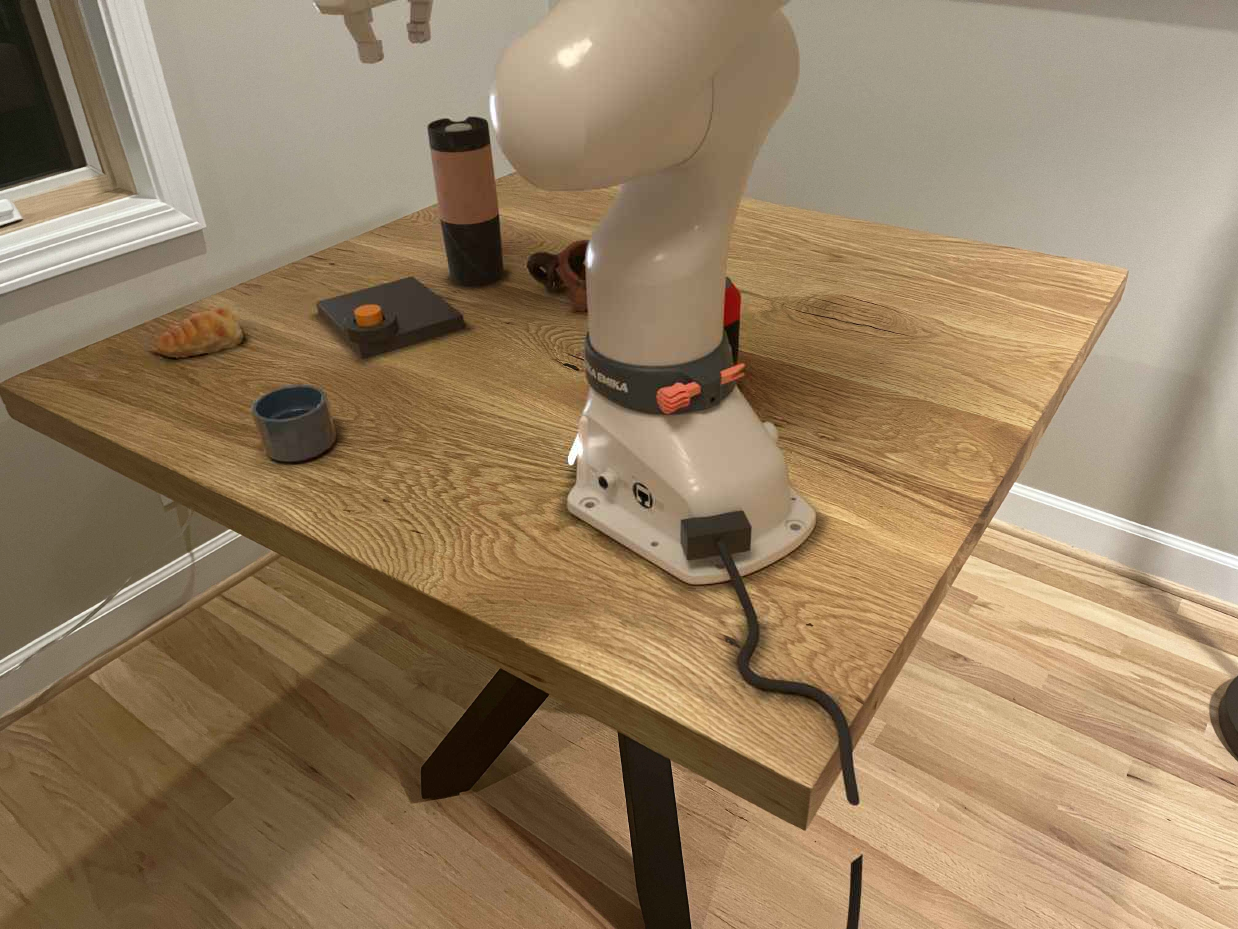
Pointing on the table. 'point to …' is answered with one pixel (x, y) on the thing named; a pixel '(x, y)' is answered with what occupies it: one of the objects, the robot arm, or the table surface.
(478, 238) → the travel mug
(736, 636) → the table surface
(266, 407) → the bowl
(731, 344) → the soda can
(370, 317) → the button
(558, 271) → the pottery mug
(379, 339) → the scale
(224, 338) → the pastry
